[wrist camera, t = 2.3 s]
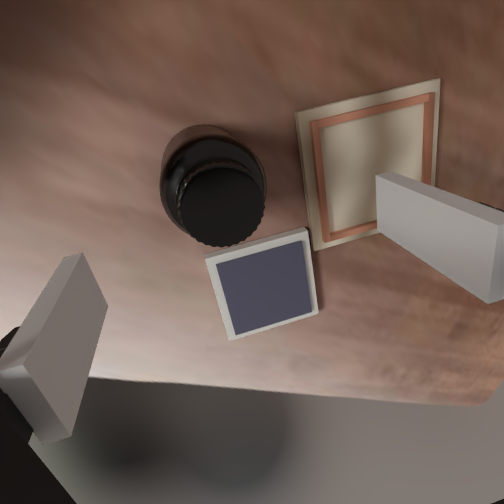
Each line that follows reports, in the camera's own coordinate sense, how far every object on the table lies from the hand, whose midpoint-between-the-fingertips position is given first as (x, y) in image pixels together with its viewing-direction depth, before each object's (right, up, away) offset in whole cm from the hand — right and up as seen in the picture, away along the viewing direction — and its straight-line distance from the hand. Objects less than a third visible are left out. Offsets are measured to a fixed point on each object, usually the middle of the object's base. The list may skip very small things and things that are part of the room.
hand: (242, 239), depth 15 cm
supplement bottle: (-4, +7, +14) cm, 16 cm away
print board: (+11, +7, +17) cm, 22 cm away
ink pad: (+2, -4, +20) cm, 21 cm away
